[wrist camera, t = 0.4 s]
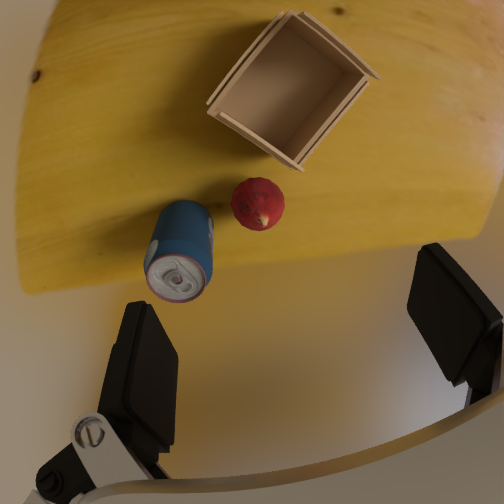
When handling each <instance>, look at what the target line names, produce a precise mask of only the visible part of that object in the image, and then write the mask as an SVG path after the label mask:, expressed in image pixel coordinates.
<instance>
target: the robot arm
mask: <svg viewBox="0 0 504 504" xmlns="http://www.w3.org/2000/svg"><path fill="white" fill-rule="evenodd" d="M407 310H408V313H409V315H410V317H411V318H412V320H413V322H414V323H415V325H416V326H417V328H418V330H419V332H420V333H421V335H422V337H423V338H424V340H425V342H426V343H427V345H428V347H429V349H430V350H431V352H432V354H433V356H434V357H435V359H436V361H437V363H438V365H439V366H440V368H441V370H442V372H443V374H444V376H445V377H446V379H447V380H448V381H451V382H452V384H453V386H454V387H455V386H457V385H459V384H461V383H463V382H465V381H467V383H468V385H469V386H468V391H467V396H466V401H465V406H464V409H462V410H460V411H459V412H457V413H455V414H453V415H451V416H449V417H447V418H444V419H442V420H440V421H438V422H436V423H434V424H432V425H429V426H427V427H425V428H423V429H420V430H418V431H415V432H413V433H411V434H408V435H405V436H403V437H400V438H398V439H395V440H393V441H390V442H387V443H384V444H381V445H378V446H375V447H372V448H369V449H366V450H363V451H360V452H356V453H353V454H350V455H346V456H342V457H339V458H335V459H331V460H327V461H323V462H319V463H314V464H310V465H305V466H300V467H295V468H290V469H284V470H279V471H272V472H265V473H258V474H250V475H240V476H230V477H217V478H200V479H172V478H171V477H170V476H169V474H168V473H167V472H166V471H165V470H164V469H163V467H162V466H161V465H160V464H159V463H158V458H159V453H169V452H170V445H173V444H174V435H175V409H176V391H177V375H178V355H177V352H176V350H175V349H174V347H173V345H172V343H171V341H170V340H169V338H168V336H167V334H166V332H165V330H164V328H163V327H162V325H161V323H160V321H159V319H158V317H157V315H156V313H155V311H154V309H153V307H152V305H151V304H147V303H146V302H145V301H137V302H131V303H128V304H127V306H126V309H125V312H124V316H123V319H122V323H121V326H120V330H119V333H118V337H117V341H116V343H115V344H114V345H113V347H112V350H111V354H110V359H109V362H108V366H107V370H106V374H105V378H104V383H103V387H102V391H101V397H100V401H99V406H98V411H97V413H95V412H90V413H85V414H83V415H81V416H80V417H79V418H78V419H77V420H76V421H75V423H74V424H73V426H72V429H71V440H72V442H71V443H70V444H69V445H68V446H66V447H65V448H64V449H63V450H62V451H61V452H59V453H58V454H57V455H55V456H54V457H53V458H52V459H51V460H49V461H48V462H47V463H46V464H45V465H43V466H42V467H41V468H40V469H39V471H38V473H37V476H36V487H37V491H35V490H32V491H31V493H30V495H29V496H28V498H27V499H26V501H25V502H24V504H504V324H503V323H502V319H503V316H502V315H501V314H500V312H499V311H498V310H497V309H496V307H495V306H494V305H493V304H492V302H491V301H490V300H489V299H488V298H487V296H486V295H485V294H484V293H483V292H482V290H481V289H480V288H479V287H478V286H477V284H476V283H475V282H474V281H473V280H472V279H471V278H470V276H469V275H468V274H467V273H466V272H465V271H464V270H463V269H462V267H461V266H460V265H459V264H458V263H457V262H456V261H455V260H454V259H453V258H452V257H451V256H450V255H449V254H448V253H447V252H446V251H445V249H443V247H442V246H441V245H440V244H438V243H431V244H427V245H424V246H422V248H421V250H420V251H419V252H418V255H417V261H416V266H415V271H414V276H413V281H412V285H411V290H410V294H409V298H408V303H407Z"/></svg>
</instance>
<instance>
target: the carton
mask: <svg viewBox="0 0 504 504" xmlns="http://www.w3.org/2000/svg"><path fill="white" fill-rule="evenodd" d="M283 13H284V11H283V10H282V11H281V12H280V13H279V14H278V15H277V16H276V17H275V18H274V19H273V20H272V21H271V22H270V23H269V25H268V26H267V27H266V28H265V29H264V30H263V31H262V32H261V34H260V35H259V36H258V37H257V38H256V39H255V41H254V42H253V43H252V44H251V45H250V46H249V48H248V49H247V50H246V51H245V52H244V54H243V55H242V56H241V57H240V59H239V60H238V61H237V62H236V64H235V65H234V66H233V67H232V69H231V70H230V71H229V73H228V74H227V75H226V76H225V78H224V79H223V80H222V82H221V83H220V84H219V86H218V87H217V88H216V90H215V91H214V92H213V94H212V95H211V97H210V98H209V99H208V101H207V102H206V104H207V105H209V104H210V102H211V101H212V100H213V98H214V97H215V96H216V94H217V93H218V92H219V90H220V89H221V87H222V86H223V85H224V84H225V82H226V81H227V80H228V78H229V77H230V76H231V74H232V73H233V72H234V71H235V69H236V68H237V67H238V66H239V64H240V63H241V62H242V61H243V59H244V58H245V57H246V56H247V54H248V53H249V52H250V51H251V50H252V48H253V47H254V46H255V45H256V44H257V42H258V41H259V40H260V39H261V38H262V37H263V35H264V34H265V33H266V32H267V31H268V30H269V29H270V28H271V26H272V25H273V24H274V23H275V22H276V21H277V20H278V19H279V18H280V16H281V15H282V14H283ZM298 14H299V13H298V12H296V11H295V10H293V9H291V10H289V11H288V12H287V13H286V14H285V15H284V16H283V17H282V18H280V19H279V21H278V22H277V23H276V24H275V25H274V26H273V27H272V28H271V29H270V31H269V32H268V33H267V34H266V35H265V36H264V37H263V39H262V40H261V41H260V42H259V43H258V44H257V46H256V47H255V48H254V49H253V50H252V52H251V53H250V54H249V55H248V56H247V58H246V59H245V60H244V61H243V63H242V64H241V65H240V66H239V68H238V69H237V70H236V71H235V73H234V74H233V75H232V76H231V78H230V79H229V80H228V82H227V83H226V84H225V86H224V87H223V88H222V90H221V91H220V92H219V94H218V95H217V96H216V98H215V99H214V100H213V102H212V103H211V105H210V106H209V108H208V110H207V113H208V114H209V115H211V116H212V117H214V118H215V115H216V114H218V113H220V112H223V113H225V114H226V115H228V116H229V117H231V118H233V119H234V120H236V121H237V122H239V123H240V124H242V125H243V126H245V127H246V128H248V129H249V130H251V131H252V132H253V133H255V134H256V135H258V136H259V137H261V138H262V139H264V140H265V141H266V142H268V143H269V144H271V145H272V146H273V147H275V148H276V149H278V150H279V151H280V152H282V153H283V154H285V155H286V156H287V157H289V158H290V159H291V160H293V161H294V162H295V163H297V164H298V165H299V166H302V164H303V163H304V162H305V161H306V160H307V158H308V157H309V156H310V155H311V154H312V152H313V151H314V150H315V149H316V147H317V146H318V145H319V144H320V143H321V141H322V140H323V139H324V138H325V137H326V135H327V134H328V133H329V132H330V131H331V129H332V128H333V127H334V126H335V125H336V123H337V122H338V121H339V120H340V119H341V117H342V116H343V115H344V114H345V113H346V111H347V110H348V109H349V108H350V107H351V106H352V104H353V103H354V102H355V101H356V100H357V98H358V97H359V96H360V95H361V94H362V92H363V91H364V90H365V89H366V88H367V87H368V85H369V84H370V83H369V82H368V81H366V80H367V79H368V78H369V77H370V76H371V75H369V74H367V73H365V72H364V71H363V70H362V69H361V68H360V67H359V66H358V65H357V64H356V63H354V62H353V61H352V60H351V59H350V58H349V57H348V56H347V55H346V54H345V53H343V52H342V51H341V50H340V49H339V48H338V47H337V46H335V45H334V44H333V43H332V42H331V41H329V40H328V39H327V38H326V37H325V36H323V35H322V34H321V33H320V32H318V31H317V30H316V29H315V28H313V27H312V26H311V25H309V24H308V23H307V22H305V21H304V20H303V19H301V18H300V17H299V16H297V15H298ZM215 119H217V118H215ZM217 120H218V119H217ZM219 121H220V120H219ZM220 122H222V121H220ZM222 123H223V122H222ZM223 124H225V123H223ZM225 125H226V124H225ZM226 126H228V125H226ZM228 127H229V126H228ZM230 128H231V127H230ZM231 129H232V128H231ZM233 130H234V129H233ZM234 131H236V130H234ZM236 132H237V131H236ZM237 133H239V132H237ZM239 134H240V133H239ZM240 135H242V134H240ZM242 136H243V135H242ZM243 137H245V136H243ZM245 138H246V137H245ZM246 139H248V138H246ZM248 140H249V139H248ZM249 141H251V140H249ZM251 142H252V141H251ZM252 143H253V142H252ZM254 144H255V143H254ZM255 145H256V144H255ZM257 146H258V145H257ZM258 147H259V146H258ZM259 148H261V147H259ZM261 149H262V148H261ZM262 150H264V149H262ZM264 151H265V150H264ZM265 152H267V151H265ZM267 153H268V152H267ZM268 154H269V153H268ZM270 155H271V154H270ZM271 156H272V155H271ZM272 157H274V156H272ZM274 158H275V157H274ZM275 159H276V158H275ZM277 160H278V159H277ZM278 161H279V160H278ZM279 162H281V161H279ZM281 163H282V162H281ZM282 164H283V163H282ZM284 165H285V164H284ZM285 166H286V165H285ZM286 167H288V166H286ZM288 168H289V169H290V170H292V169H293V168H290V167H288Z"/></svg>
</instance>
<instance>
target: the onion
mask: <svg viewBox="0 0 504 504" xmlns="http://www.w3.org/2000/svg"><path fill="white" fill-rule="evenodd" d="M231 206H232V209H233V213H234V216H235V218H236V219H237V220H238V221H239V222H240V224H241V225H242V226H244V227H246V228H248V229H250V230H256V231H262V230H266V229H269V228H271V227H272V226H274V225H275V224H276V223H277V222H278V221H279V220H280V218H281V216H282V213H283V210H284V207H285V204H284V196H283V193H282V192H281V190H280V189H279V187H278V186H277V185H276V184H274V183H273V182H271V181H270V180H269V179H265V178H261V177H257V178H249V179H247V180H246V181H244V182H242V183H240V184H239V185H238V187H237V188H236V189H235V191H234V193H233V197H232V202H231Z"/></svg>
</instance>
